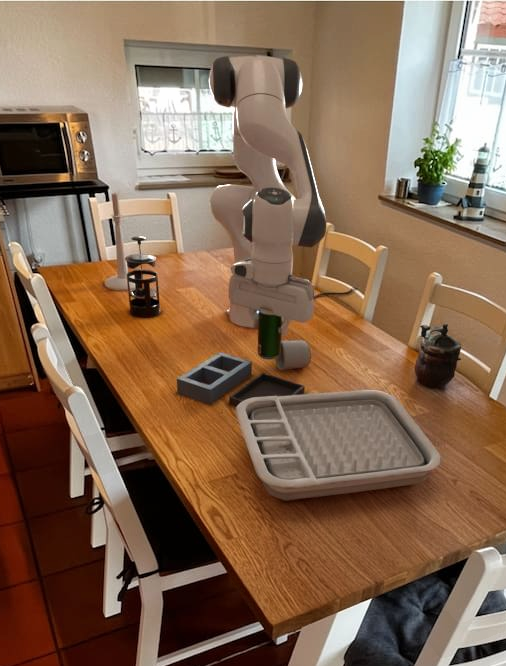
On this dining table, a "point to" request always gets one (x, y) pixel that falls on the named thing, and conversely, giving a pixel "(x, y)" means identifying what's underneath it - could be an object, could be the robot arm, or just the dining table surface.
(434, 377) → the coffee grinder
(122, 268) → the candlestick
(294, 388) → the tray
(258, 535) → the dining table surface
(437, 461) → the dish rack
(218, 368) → the frame
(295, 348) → the ceramic mug
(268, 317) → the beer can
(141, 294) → the french press
